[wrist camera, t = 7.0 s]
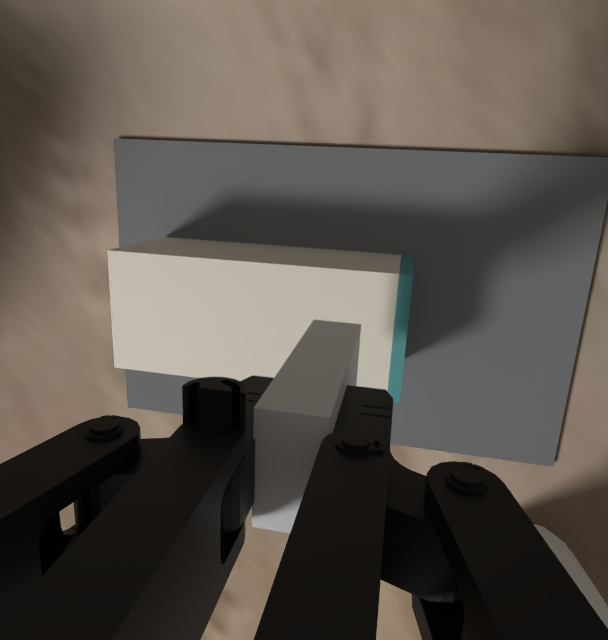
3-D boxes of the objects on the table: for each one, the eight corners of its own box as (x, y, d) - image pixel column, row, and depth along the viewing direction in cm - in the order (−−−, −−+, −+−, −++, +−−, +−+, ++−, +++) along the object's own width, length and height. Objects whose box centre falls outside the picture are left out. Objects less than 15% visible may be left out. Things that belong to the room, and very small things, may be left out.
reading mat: (130, 404, 28) (127, 407, 28) (117, 138, 25) (113, 138, 24) (551, 463, 25) (553, 466, 24) (613, 158, 21) (616, 157, 20)
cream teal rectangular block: (401, 359, 24) (167, 333, 26) (412, 255, 23) (164, 237, 25) (399, 403, 20) (114, 367, 22) (412, 275, 18) (107, 250, 20)
